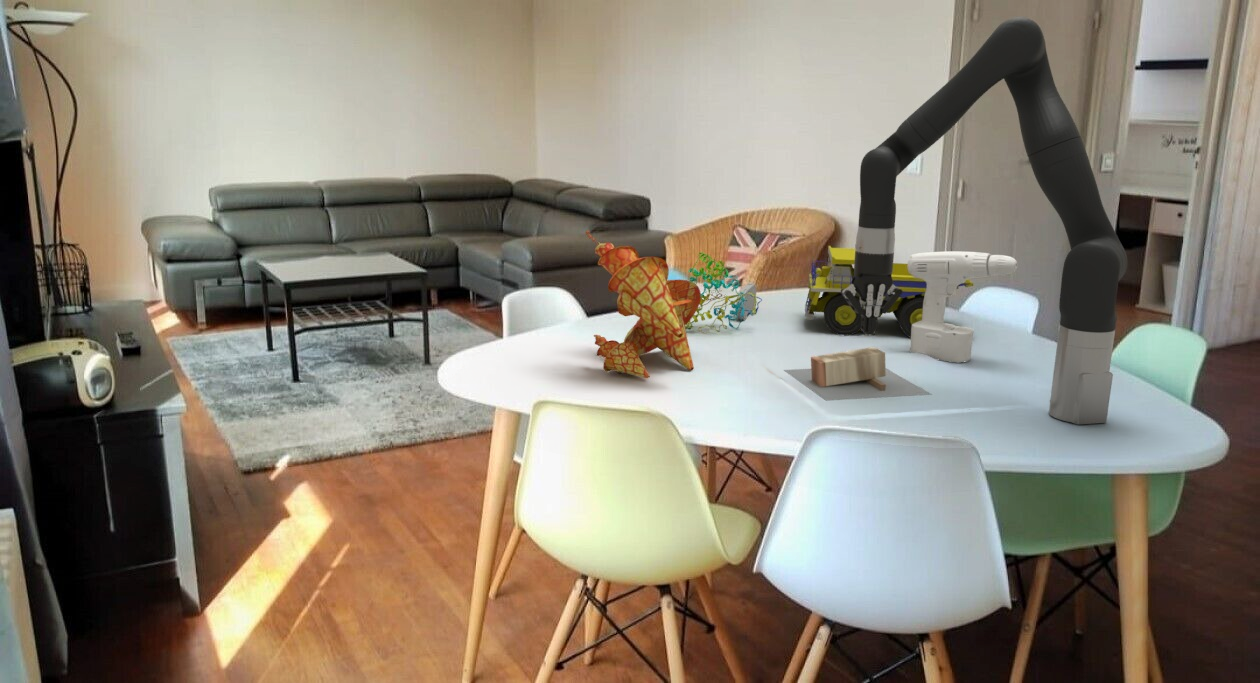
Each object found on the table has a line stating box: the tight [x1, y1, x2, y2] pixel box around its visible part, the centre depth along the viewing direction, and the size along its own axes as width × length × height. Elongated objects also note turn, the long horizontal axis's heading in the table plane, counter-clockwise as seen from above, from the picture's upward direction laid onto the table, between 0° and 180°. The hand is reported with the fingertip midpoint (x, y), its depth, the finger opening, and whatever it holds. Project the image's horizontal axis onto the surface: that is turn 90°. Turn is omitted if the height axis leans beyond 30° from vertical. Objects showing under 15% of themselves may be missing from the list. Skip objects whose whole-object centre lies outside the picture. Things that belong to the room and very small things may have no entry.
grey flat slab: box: [735, 281, 757, 321], centre depth 258 cm, size 20×2×8 cm, turn 162°
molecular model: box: [685, 252, 763, 334], centre depth 239 cm, size 23×21×15 cm
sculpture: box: [584, 230, 702, 379], centre depth 205 cm, size 33×28×35 cm
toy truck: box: [804, 245, 974, 338], centre depth 243 cm, size 24×40×20 cm, turn 81°
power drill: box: [907, 250, 1018, 363], centre depth 213 cm, size 8×24×25 cm, turn 51°
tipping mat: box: [783, 368, 932, 401], centre depth 193 cm, size 22×22×2 cm
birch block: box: [810, 346, 887, 387], centre depth 192 cm, size 5×5×14 cm
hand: (868, 333), depth 191 cm, fingers closed
